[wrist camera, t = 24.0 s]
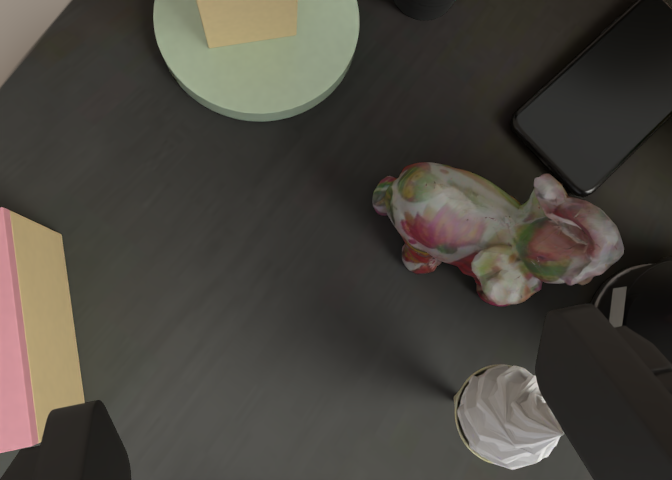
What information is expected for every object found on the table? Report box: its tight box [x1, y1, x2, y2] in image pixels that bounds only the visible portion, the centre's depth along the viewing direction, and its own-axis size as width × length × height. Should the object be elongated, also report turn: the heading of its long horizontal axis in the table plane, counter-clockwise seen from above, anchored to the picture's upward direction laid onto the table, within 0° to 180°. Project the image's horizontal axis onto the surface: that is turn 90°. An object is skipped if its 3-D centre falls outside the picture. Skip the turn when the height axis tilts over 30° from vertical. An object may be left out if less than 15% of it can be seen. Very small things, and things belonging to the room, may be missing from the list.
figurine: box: [372, 162, 624, 307], centre depth 32 cm, size 8×12×15 cm, turn 41°
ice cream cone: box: [453, 364, 564, 470], centre depth 31 cm, size 5×5×15 cm
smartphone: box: [510, 0, 672, 197], centre depth 42 cm, size 8×1×16 cm
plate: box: [153, 0, 359, 122], centre depth 40 cm, size 14×14×2 cm
